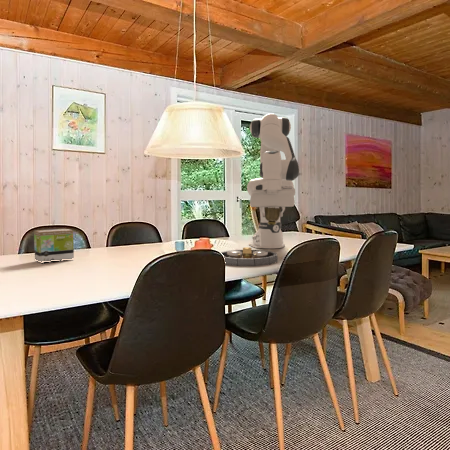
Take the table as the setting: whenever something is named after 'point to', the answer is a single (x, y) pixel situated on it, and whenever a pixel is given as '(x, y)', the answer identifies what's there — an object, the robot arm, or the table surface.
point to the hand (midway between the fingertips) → (272, 216)
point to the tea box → (53, 244)
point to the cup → (272, 215)
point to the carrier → (249, 257)
